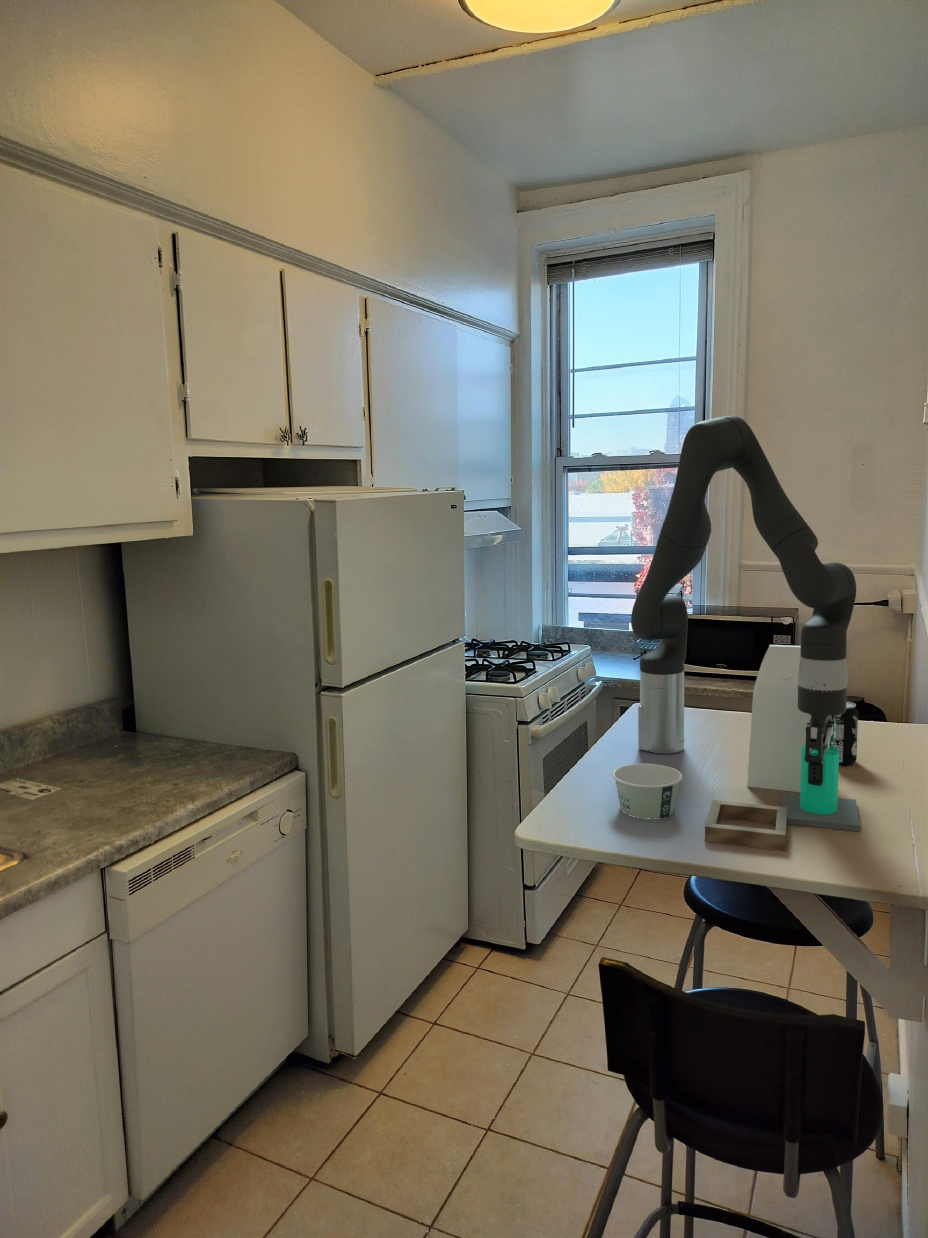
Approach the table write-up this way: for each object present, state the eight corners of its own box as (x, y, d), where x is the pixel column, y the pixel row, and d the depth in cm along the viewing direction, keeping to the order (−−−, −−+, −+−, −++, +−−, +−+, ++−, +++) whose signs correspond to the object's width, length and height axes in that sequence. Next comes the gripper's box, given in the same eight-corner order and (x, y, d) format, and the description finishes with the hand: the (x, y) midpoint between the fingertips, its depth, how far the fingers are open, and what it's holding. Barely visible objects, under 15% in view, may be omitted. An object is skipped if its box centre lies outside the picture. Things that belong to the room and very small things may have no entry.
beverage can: (849, 756, 172) (851, 699, 171) (861, 767, 166) (863, 707, 164) (816, 756, 173) (817, 699, 171) (826, 767, 167) (828, 708, 165)
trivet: (780, 823, 140) (780, 817, 140) (782, 798, 151) (782, 792, 151) (859, 831, 136) (859, 825, 136) (855, 805, 147) (855, 799, 147)
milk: (819, 773, 163) (822, 641, 159) (816, 794, 153) (819, 653, 149) (753, 767, 168) (755, 639, 164) (747, 786, 158) (748, 650, 154)
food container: (599, 804, 152) (599, 770, 151) (654, 793, 156) (654, 759, 155) (638, 828, 141) (638, 790, 140) (696, 814, 146) (696, 778, 145)
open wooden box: (704, 841, 134) (704, 826, 134) (712, 813, 145) (712, 800, 145) (785, 850, 130) (785, 835, 130) (786, 821, 141) (787, 807, 141)
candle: (805, 814, 141) (807, 745, 139) (795, 801, 147) (796, 734, 145) (842, 814, 140) (845, 745, 139) (830, 801, 146) (832, 734, 144)
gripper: (840, 695, 132) (837, 794, 135) (852, 676, 144) (850, 767, 147) (789, 690, 136) (787, 786, 139) (806, 672, 148) (804, 761, 151)
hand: (819, 776), depth 143 cm, fingers open, 8 cm apart
